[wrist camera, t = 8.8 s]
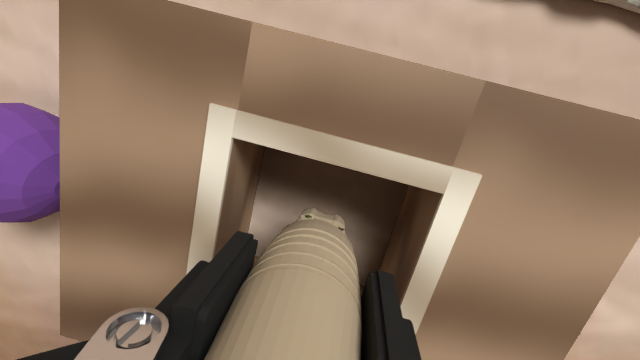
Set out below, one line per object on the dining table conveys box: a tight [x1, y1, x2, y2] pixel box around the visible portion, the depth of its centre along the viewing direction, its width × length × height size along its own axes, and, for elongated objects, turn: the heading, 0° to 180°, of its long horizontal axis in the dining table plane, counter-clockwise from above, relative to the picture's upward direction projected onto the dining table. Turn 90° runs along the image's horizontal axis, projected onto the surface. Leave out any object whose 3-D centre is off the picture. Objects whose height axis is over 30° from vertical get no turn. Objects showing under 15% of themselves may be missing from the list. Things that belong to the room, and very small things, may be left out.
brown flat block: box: [59, 0, 640, 360], centre depth 15 cm, size 16×22×5 cm
